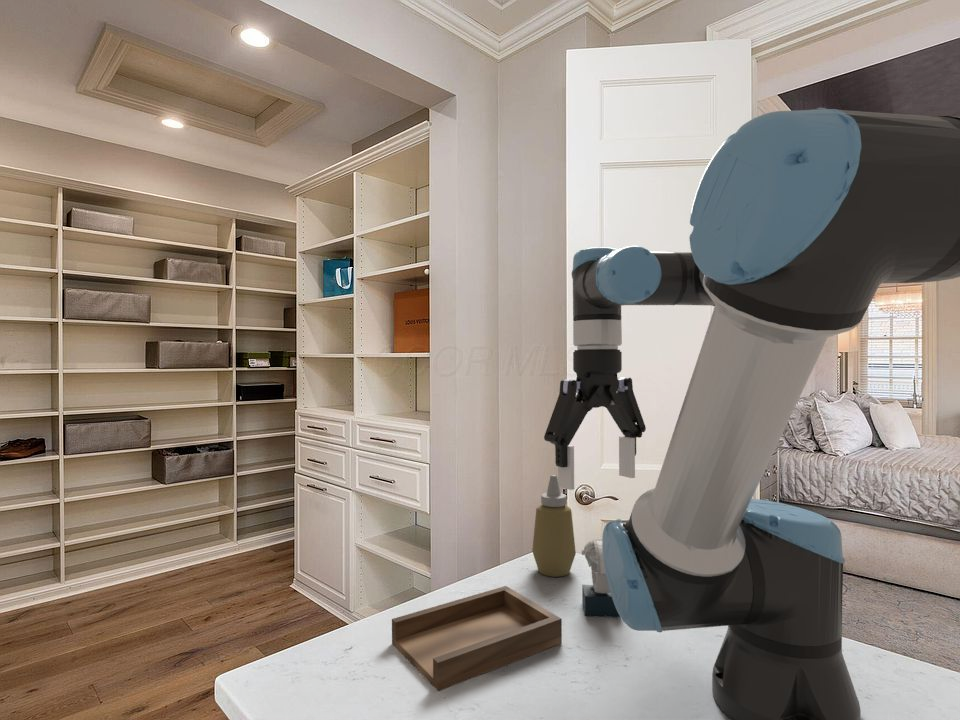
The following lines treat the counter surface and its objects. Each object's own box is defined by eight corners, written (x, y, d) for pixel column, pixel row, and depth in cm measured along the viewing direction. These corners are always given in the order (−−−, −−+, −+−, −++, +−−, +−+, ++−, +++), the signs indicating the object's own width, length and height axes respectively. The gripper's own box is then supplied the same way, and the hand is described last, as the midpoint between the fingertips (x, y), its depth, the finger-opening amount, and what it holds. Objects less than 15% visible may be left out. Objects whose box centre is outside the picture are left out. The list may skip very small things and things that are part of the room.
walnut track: (561, 643, 80) (561, 618, 80) (437, 691, 69) (437, 662, 69) (506, 607, 91) (505, 585, 91) (391, 643, 80) (391, 619, 80)
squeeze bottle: (582, 568, 107) (582, 474, 106) (565, 583, 100) (564, 482, 99) (543, 560, 111) (543, 469, 111) (524, 574, 104) (524, 477, 104)
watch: (614, 599, 94) (614, 533, 93) (623, 622, 86) (622, 551, 85) (580, 598, 94) (580, 532, 94) (585, 621, 86) (585, 550, 86)
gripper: (631, 348, 99) (632, 468, 99) (520, 348, 85) (521, 488, 85) (667, 347, 93) (667, 476, 93) (553, 347, 79) (554, 498, 79)
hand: (597, 482), depth 89 cm, fingers open, 13 cm apart
